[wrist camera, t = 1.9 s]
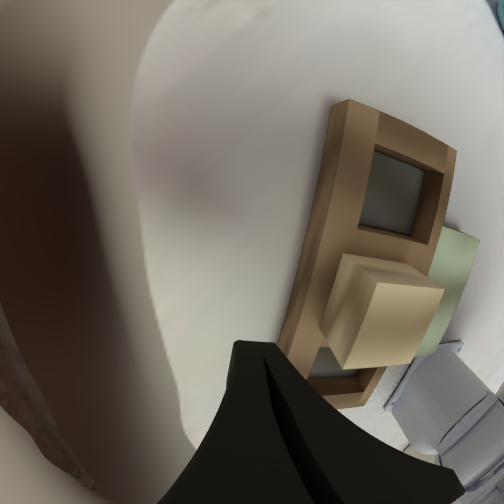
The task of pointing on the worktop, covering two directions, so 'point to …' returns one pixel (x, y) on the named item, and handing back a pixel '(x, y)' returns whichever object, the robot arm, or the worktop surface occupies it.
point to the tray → (373, 236)
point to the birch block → (378, 312)
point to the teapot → (501, 12)
